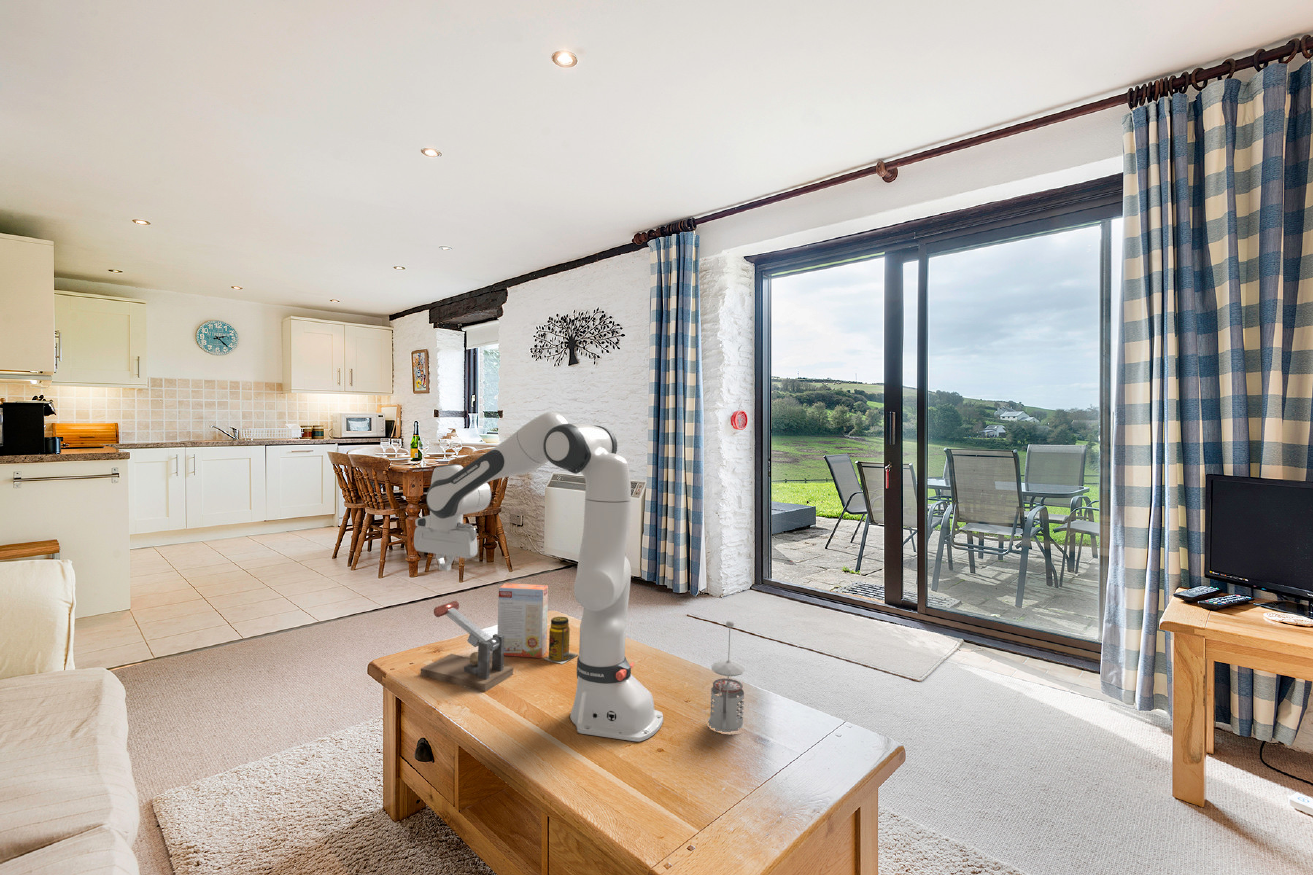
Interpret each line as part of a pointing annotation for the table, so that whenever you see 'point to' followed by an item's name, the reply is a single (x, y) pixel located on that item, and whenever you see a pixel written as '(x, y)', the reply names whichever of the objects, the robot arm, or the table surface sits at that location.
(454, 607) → the lever
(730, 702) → the french press
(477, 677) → the tabletop arbor press
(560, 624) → the condiment
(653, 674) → the table surface
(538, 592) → the cracker box
